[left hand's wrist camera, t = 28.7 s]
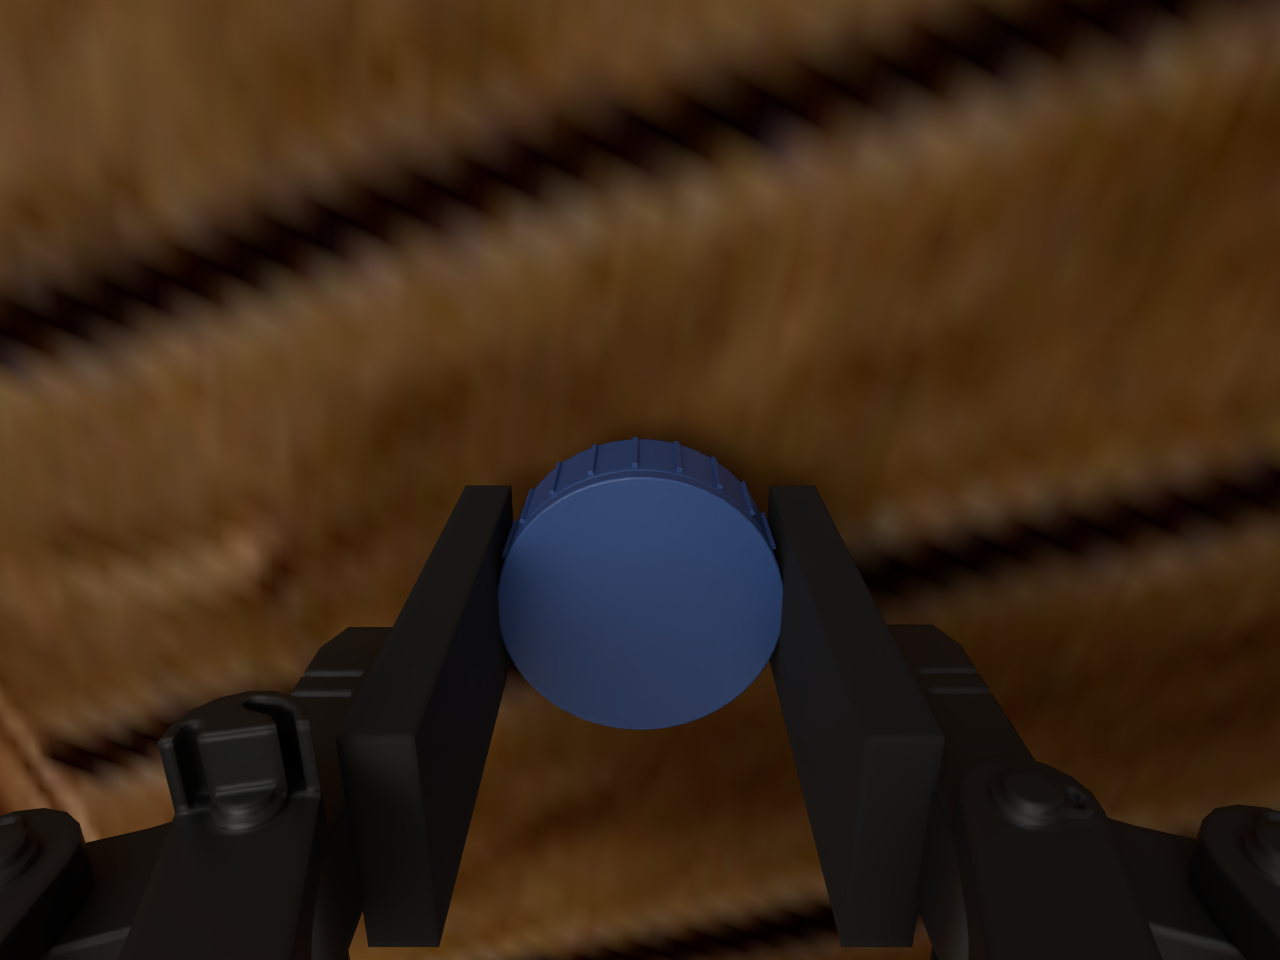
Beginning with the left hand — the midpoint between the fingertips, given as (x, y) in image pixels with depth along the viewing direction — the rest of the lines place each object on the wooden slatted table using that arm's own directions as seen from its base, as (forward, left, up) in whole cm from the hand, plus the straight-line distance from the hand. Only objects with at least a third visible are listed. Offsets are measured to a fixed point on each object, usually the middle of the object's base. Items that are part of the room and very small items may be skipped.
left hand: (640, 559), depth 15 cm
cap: (0, 0, +1) cm, 1 cm away
